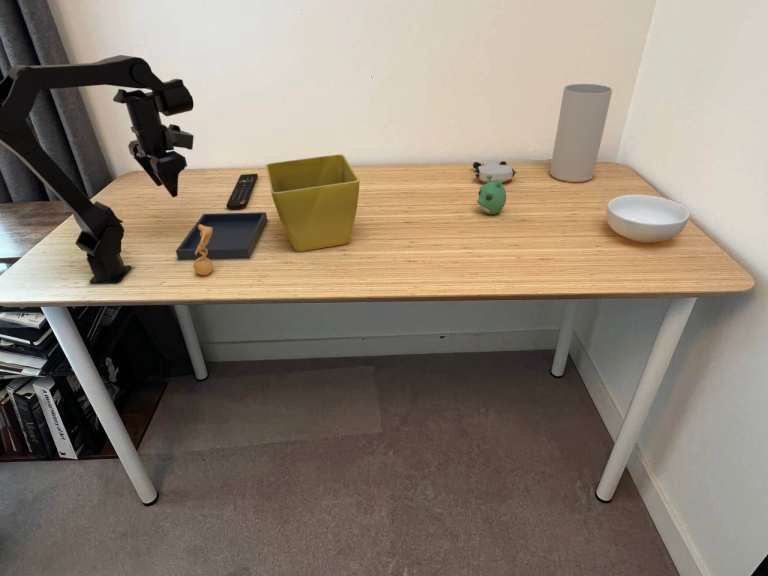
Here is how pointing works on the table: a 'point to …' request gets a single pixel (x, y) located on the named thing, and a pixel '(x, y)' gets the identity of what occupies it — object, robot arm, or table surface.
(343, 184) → the flower pot
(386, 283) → the table surface
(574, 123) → the cylinder vase
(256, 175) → the remote control
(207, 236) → the figurine
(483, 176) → the robot toy
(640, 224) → the cereal bowl
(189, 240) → the tray
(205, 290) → the table surface
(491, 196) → the alien toy
